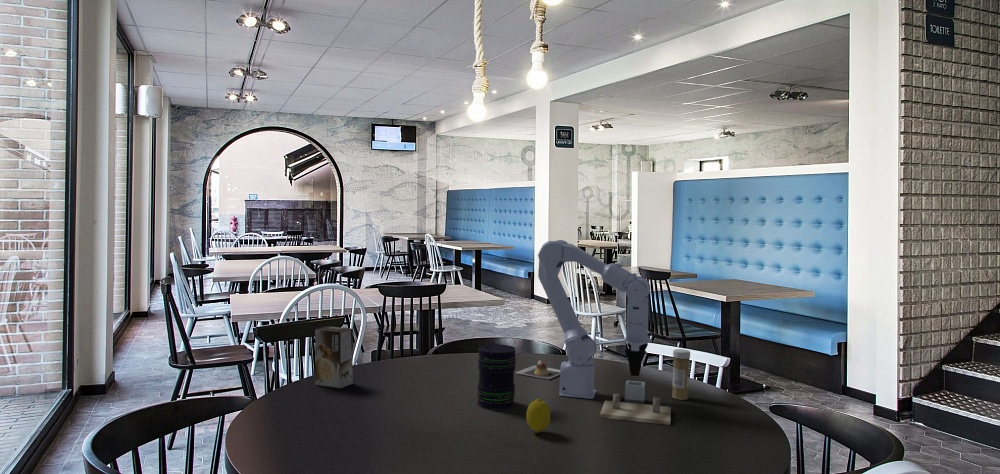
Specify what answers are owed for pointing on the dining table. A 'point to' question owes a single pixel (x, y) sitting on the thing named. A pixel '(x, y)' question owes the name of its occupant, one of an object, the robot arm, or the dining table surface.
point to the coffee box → (333, 356)
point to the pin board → (636, 411)
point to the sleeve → (634, 392)
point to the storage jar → (496, 377)
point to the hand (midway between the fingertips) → (635, 372)
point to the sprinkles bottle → (681, 374)
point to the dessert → (539, 370)
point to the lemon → (538, 415)
